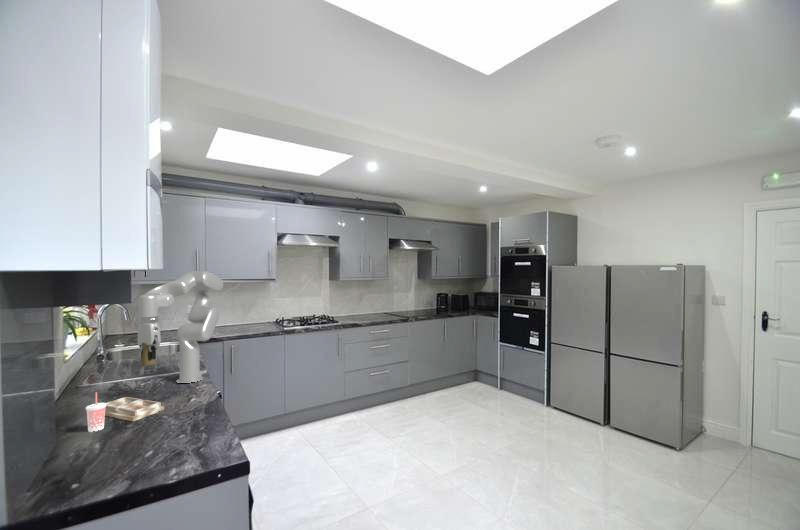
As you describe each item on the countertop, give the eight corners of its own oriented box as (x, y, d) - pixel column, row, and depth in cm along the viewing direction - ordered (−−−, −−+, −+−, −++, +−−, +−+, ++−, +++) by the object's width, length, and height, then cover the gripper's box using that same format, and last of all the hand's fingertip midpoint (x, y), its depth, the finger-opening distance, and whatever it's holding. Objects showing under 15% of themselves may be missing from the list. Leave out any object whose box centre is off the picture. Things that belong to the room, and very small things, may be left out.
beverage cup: (110, 427, 138) (110, 390, 138) (91, 433, 132) (91, 395, 132) (100, 424, 140) (100, 388, 140) (81, 431, 134) (81, 393, 135)
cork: (148, 365, 165) (148, 342, 165) (137, 365, 166) (137, 341, 166) (159, 362, 171) (159, 339, 171) (148, 362, 172) (148, 339, 172)
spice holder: (127, 403, 163) (127, 395, 163) (164, 409, 155) (164, 401, 155) (95, 414, 151) (95, 405, 151) (132, 421, 143) (132, 412, 143)
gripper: (168, 320, 169) (168, 358, 169) (144, 319, 175) (144, 356, 175) (152, 322, 162) (152, 362, 162) (128, 321, 168) (128, 360, 168)
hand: (148, 358), depth 169 cm, fingers closed on cork, 4 cm apart
